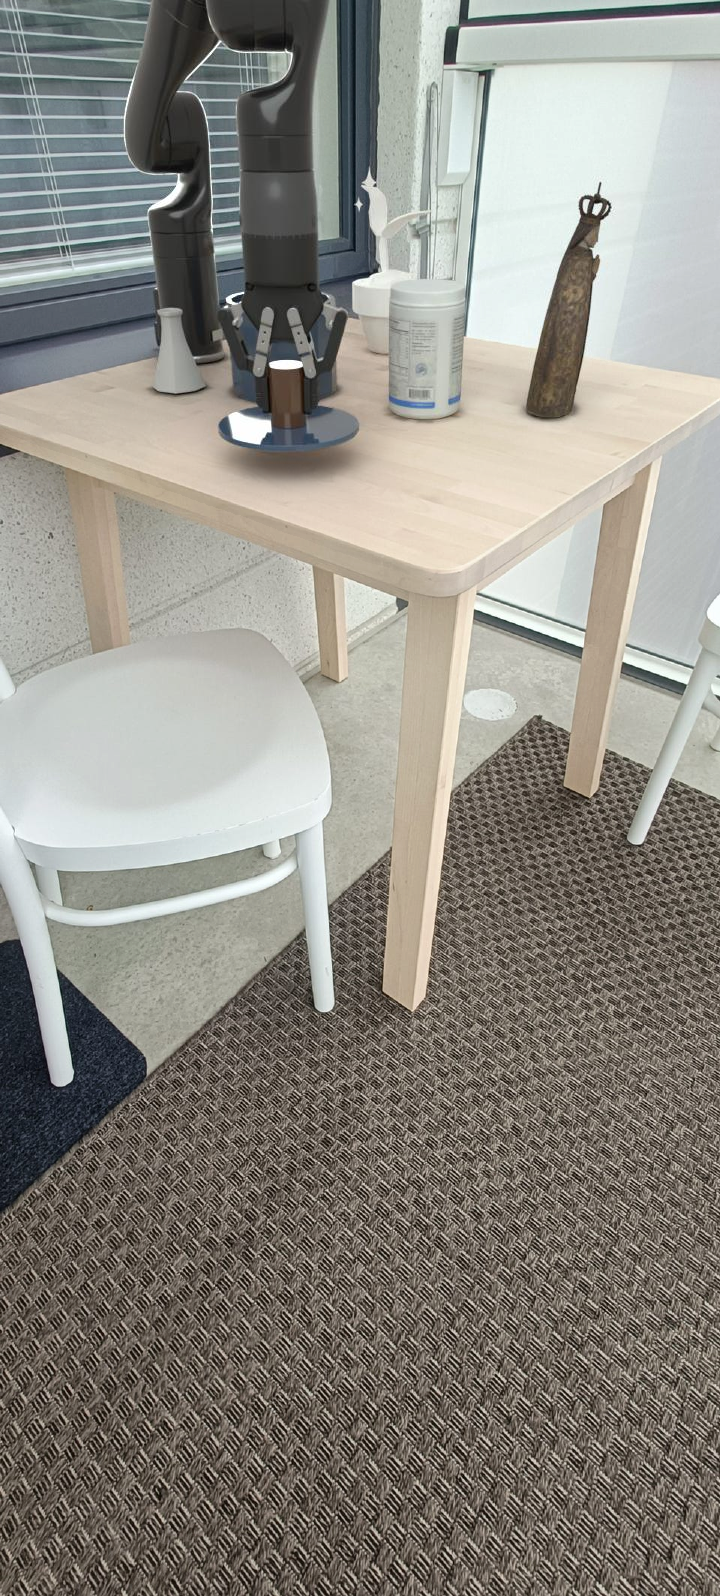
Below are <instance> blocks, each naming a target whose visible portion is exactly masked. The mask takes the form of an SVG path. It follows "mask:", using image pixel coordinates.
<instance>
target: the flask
mask: <svg viewBox="0 0 720 1596" xmlns="http://www.w3.org/2000/svg"><path fill="white" fill-rule="evenodd" d="M157 312H158V315H160V318H161V326H162V331H161V345H160V347H159V351H158V357H157V362H156V367H155V372H154V375H153V381H152V385H151V386H152V388H154V389H155V390H156V391H158V392H161V393H168V394H169V393H170V394H182V393H190V392H196V391H198V390H200V389H202V388H205V387H206V386H207V385H206V383H205V380H204V378H203V376H202V373H201V372H200V370H199V367H198V365H197V363H195V361H194V358H193V356H192V354H191V351H190V349H189V347H188V344H187V342H186V339H185V335H184V332H183V328H182V322H181V315H182V313H183V311H182V310H181V309H179V308H164V309H160V310H157Z"/></svg>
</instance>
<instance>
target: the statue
mask: <svg viewBox="0 0 720 1596" xmlns="http://www.w3.org/2000/svg"><path fill="white" fill-rule="evenodd" d="M601 187H602V182H601V181H600V182H599V183H598V187H597V191H596V193H594V194H593V195H591V194H584V195H583V196H581V197H580V199H579V200H578V204H577V206H578V211H579V215H580V218H579V220H578V223H577V226H576V227H575V230H574V232H573V234H572V236H571V238H570V239H569V243H568V245H567V247H566V249H565V252H564V254H563V256H562V259H561V262H560V264H559V267H558V271H557V273H556V278H555V281H554V284H553V287H552V291H551V295H550V298H549V302H548V306H547V309H546V313H545V316H544V320H543V323H542V324H543V325H542V329H541V332H540V337H539V340H538V341H539V342H538V346H537V351H536V353H535V359H534V363H533V367H532V368H533V369H532V373H531V378H530V382H529V387H528V393H527V398H526V402H525V403H526V404H525V407H526V409H525V410H526V411H527V412H528V413H530V414H531V415H533V416H537V417H540V418H549V419H550V418H551V419H552V418H553V419H554V418H562V417H563V416H564V417H565V416H567V415H569V413H572V410H573V406H574V404H575V396H576V393H577V386H578V384H579V383H578V382H579V379H580V374H581V370H582V366H583V360H584V355H585V350H586V343H587V336H588V330H589V322H590V317H591V306H592V296H593V285H594V281H595V279H596V278H597V273H598V272H599V268H600V265H601V259H600V254H598V253H597V254H596V255H595V257H594V253H593V249H594V248H595V246H596V244H597V243H599V233H600V227H601V221H602V220H605V218H606V217H609V215H610V213H611V209H612V203H611V202H610V200H609V199H608V200H607V198H605V197H602V195H601V193H600V192H601ZM585 200H588V203H587V209H586V212H585V211H584V201H585ZM599 204H601V208H600V210H599V212H598V214H594V213H593V211H594V207H595V205H599Z"/></svg>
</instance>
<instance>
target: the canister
mask: <svg viewBox="0 0 720 1596" xmlns="http://www.w3.org/2000/svg"><path fill="white" fill-rule="evenodd" d="M243 294H244V291H242V292H237V293H233V294H231V295H228V296H227V297H225V298H224V299H225V300H224V301H225V305H230V306H231V305H233V304H236V303H239V302H241V300H242V297H243ZM321 294H322V296H323V298H324V301H325V303H327V304H330V305H332V306H335V307H336V298H335V296H333V294H330V293H326V292H324V291H321ZM242 318H243V323H242V325H241V326H240V329H241V332H242V335H243V337H244V340H245V343H246V345H247V348H248V351H249V353H250V356H253V357H255V355H256V346H257V341H258V335H259V333H258V331H257V330H256V328H255V327H254V325H253V324H252V323H251V321H250V320H249V318H248V317H247V315H246V314H245V312H244V313H243V314H242ZM310 332H311V336H312V340H313V343H314V350H315V354H316V358H317V359H320V358H322V357H324V354H325V350H326V347H327V343H328V340H329V336H330V333H331V330H329V329H327V327H326V318H325V316H324V315H323V314H321V315H320V316H319V318H318V320H317V321H316V323H315V324H314V326H313V328H312V329H311V331H310ZM229 359H230V370H231V382H232V388H233V393H234V395H235V396H236V397H238V398H240V399H243V400H245V401H249V402H255V403H257V402H256V387H255V377H254V375H253V374H252V373H251V372H248V371H246V370H239V369H238V368H237V366H236V364H235V361H234V359H233V356H232V353H231V351H230V350H229ZM281 360H293V361H299V362H302V361H301V358H300V356H299V354H298V351H297V347H296V344H291V343H287V342H284V341H282V342H279V343H273V345H272V349H271V353H270V358H269V363H271V362H274V361H281ZM269 363H268V364H269ZM337 373H338V372H337V360H336V361H335V364H334V366H333V368H332V370H331V371H330V372H325V373H322V374H320V375H319V377H318V379H319V400H322V399H325V398H328V397H330V396H332V395H333V394H335V393H336V391H337V387H338V382H337V379H338V377H337Z"/></svg>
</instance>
